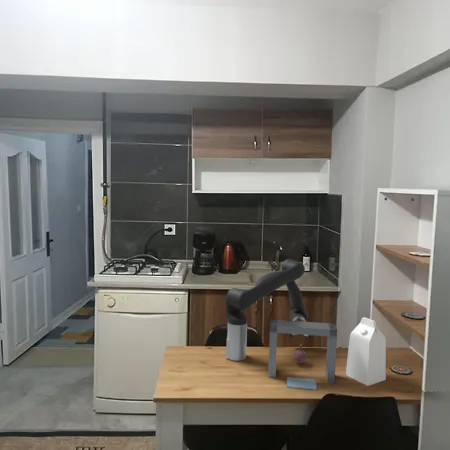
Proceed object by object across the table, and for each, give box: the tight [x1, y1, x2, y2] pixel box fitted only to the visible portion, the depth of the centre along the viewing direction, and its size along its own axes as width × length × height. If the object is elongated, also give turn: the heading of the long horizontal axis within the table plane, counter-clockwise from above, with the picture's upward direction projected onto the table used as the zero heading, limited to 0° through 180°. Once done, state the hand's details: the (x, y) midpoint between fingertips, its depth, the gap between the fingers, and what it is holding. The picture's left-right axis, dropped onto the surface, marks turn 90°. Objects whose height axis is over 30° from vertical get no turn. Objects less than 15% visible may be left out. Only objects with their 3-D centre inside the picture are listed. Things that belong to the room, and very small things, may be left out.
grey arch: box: [267, 319, 338, 384], centre depth 184 cm, size 28×8×23 cm, turn 82°
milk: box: [345, 317, 387, 387], centre depth 183 cm, size 12×12×26 cm
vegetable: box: [293, 343, 308, 365], centre depth 196 cm, size 6×6×10 cm
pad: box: [286, 376, 318, 391], centre depth 177 cm, size 12×8×1 cm, turn 82°
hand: (300, 336), depth 208 cm, fingers open, 8 cm apart
